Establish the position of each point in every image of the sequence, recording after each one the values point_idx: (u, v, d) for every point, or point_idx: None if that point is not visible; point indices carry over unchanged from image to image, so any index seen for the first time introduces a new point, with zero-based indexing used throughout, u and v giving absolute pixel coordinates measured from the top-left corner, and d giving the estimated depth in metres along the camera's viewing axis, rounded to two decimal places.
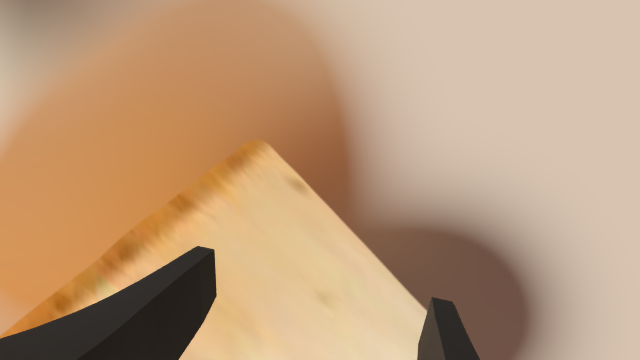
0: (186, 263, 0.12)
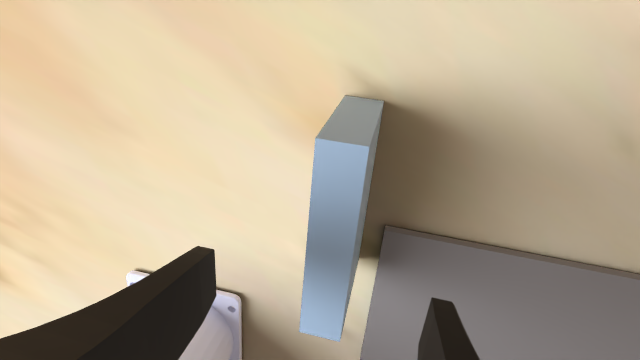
0: (186, 263, 0.12)
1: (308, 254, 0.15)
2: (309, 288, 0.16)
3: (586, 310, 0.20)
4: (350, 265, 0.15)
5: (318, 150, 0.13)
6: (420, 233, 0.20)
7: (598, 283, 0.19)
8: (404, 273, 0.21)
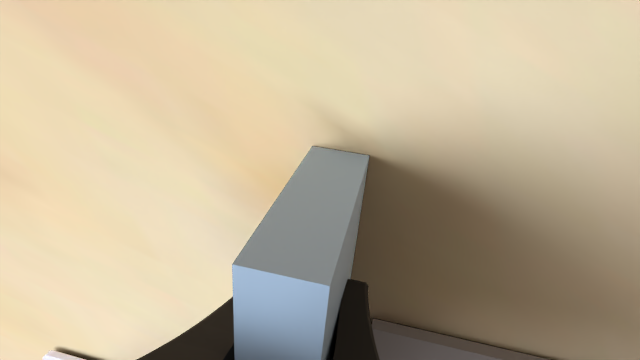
0: None
1: None
2: None
3: None
4: None
5: (239, 284, 0.07)
6: (421, 332, 0.14)
7: None
8: None
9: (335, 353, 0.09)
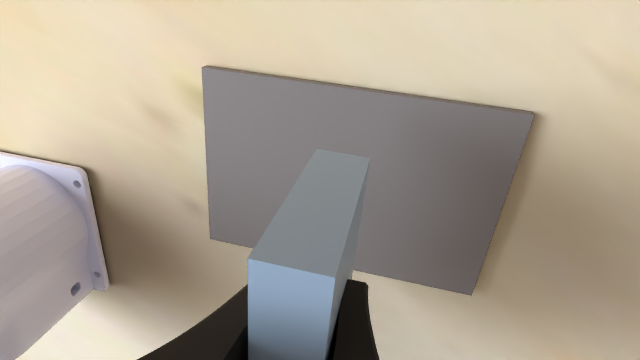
0: None
1: None
2: None
3: (413, 149, 0.18)
4: None
5: (253, 276, 0.08)
6: (240, 71, 0.19)
7: (418, 112, 0.17)
8: (231, 121, 0.20)
9: (335, 353, 0.09)
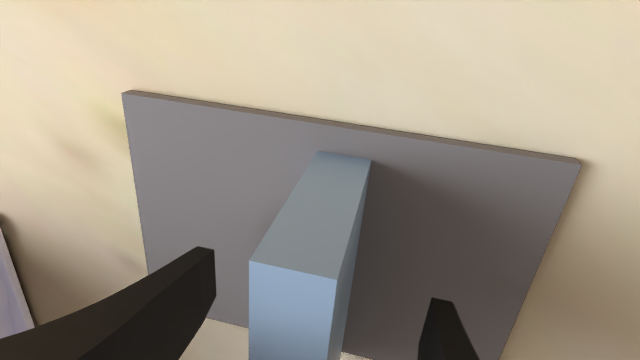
0: (186, 263, 0.12)
1: None
2: None
3: (408, 205, 0.13)
4: None
5: (255, 278, 0.08)
6: (174, 98, 0.14)
7: (415, 158, 0.12)
8: (165, 163, 0.15)
9: None
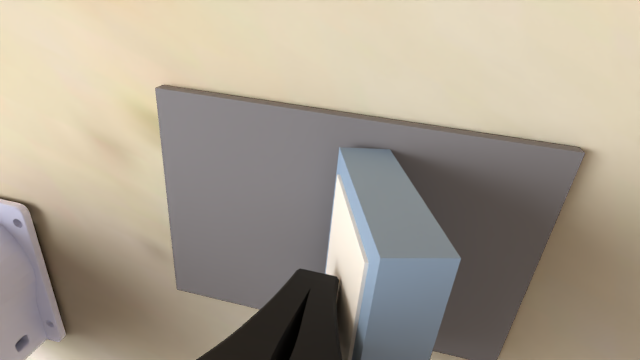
0: (299, 289, 0.11)
1: None
2: None
3: (423, 192, 0.14)
4: None
5: (383, 273, 0.09)
6: (204, 92, 0.15)
7: (431, 147, 0.13)
8: (194, 153, 0.16)
9: (296, 343, 0.09)
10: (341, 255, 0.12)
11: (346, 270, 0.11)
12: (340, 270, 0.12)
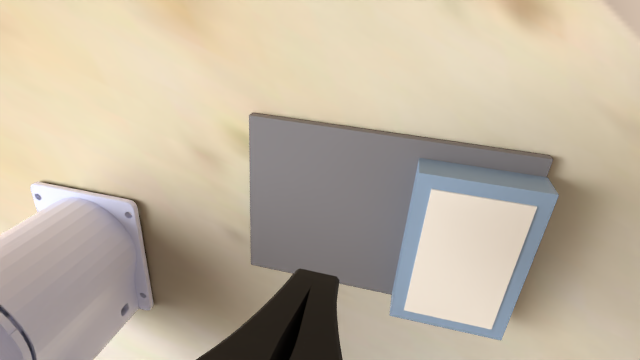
0: (299, 289, 0.11)
1: (524, 278, 0.19)
2: None
3: None
4: None
5: (555, 201, 0.17)
6: (284, 118, 0.21)
7: (447, 156, 0.19)
8: (274, 161, 0.22)
9: (296, 343, 0.09)
10: (472, 228, 0.19)
11: (491, 229, 0.18)
12: (472, 237, 0.19)
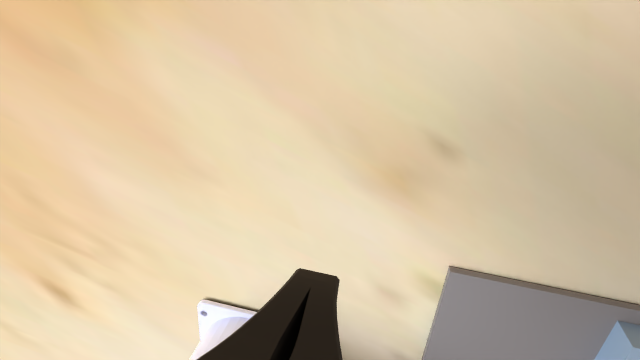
0: (299, 289, 0.11)
1: None
2: None
3: None
4: None
5: None
6: (482, 274, 0.22)
7: None
8: (465, 309, 0.23)
9: (296, 343, 0.09)
10: None
11: None
12: None
